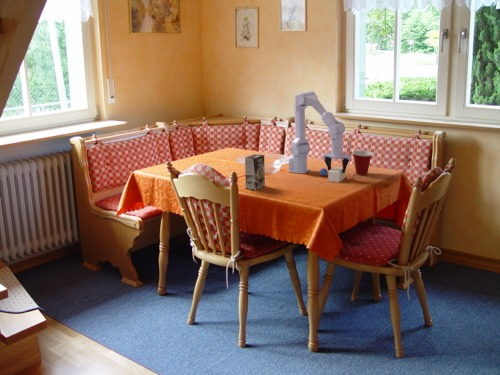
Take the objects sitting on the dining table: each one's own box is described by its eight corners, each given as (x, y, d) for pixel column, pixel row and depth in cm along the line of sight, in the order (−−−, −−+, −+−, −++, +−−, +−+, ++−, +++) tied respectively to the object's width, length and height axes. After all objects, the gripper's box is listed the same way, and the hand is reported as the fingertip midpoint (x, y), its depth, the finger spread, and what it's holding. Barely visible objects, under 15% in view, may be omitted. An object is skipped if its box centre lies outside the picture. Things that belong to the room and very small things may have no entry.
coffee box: (256, 190, 308) (255, 158, 304) (245, 188, 311) (244, 157, 307) (265, 185, 315) (264, 154, 311) (254, 184, 319) (253, 153, 314)
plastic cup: (372, 177, 325) (372, 154, 322) (351, 176, 327) (351, 154, 324) (372, 171, 335) (373, 150, 332) (352, 171, 337) (352, 149, 334)
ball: (318, 176, 330) (318, 168, 329) (321, 174, 333) (321, 167, 332) (325, 176, 328) (325, 169, 327) (328, 175, 332) (328, 167, 330)
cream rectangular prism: (328, 181, 320) (328, 171, 318) (334, 176, 328) (334, 166, 326) (338, 182, 317) (338, 172, 316) (344, 177, 325) (344, 167, 324)
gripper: (320, 147, 318) (320, 172, 321) (347, 149, 311) (347, 175, 315) (325, 144, 324) (325, 169, 327) (352, 146, 317) (352, 172, 321)
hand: (336, 172), depth 321 cm, fingers open, 7 cm apart
